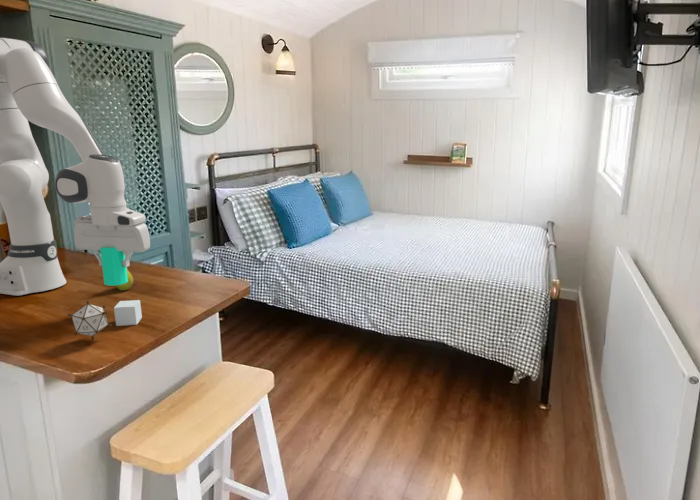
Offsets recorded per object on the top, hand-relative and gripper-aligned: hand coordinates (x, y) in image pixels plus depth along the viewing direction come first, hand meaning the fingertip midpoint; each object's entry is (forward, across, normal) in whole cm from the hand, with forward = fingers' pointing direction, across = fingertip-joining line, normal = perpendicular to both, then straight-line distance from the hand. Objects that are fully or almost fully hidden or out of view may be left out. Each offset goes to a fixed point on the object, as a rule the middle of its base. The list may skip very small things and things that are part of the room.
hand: (114, 265), depth 135 cm
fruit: (+12, -7, +15) cm, 21 cm away
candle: (+5, 0, 0) cm, 5 cm away
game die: (+12, +6, -21) cm, 25 cm away
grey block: (+12, +8, -9) cm, 17 cm away
